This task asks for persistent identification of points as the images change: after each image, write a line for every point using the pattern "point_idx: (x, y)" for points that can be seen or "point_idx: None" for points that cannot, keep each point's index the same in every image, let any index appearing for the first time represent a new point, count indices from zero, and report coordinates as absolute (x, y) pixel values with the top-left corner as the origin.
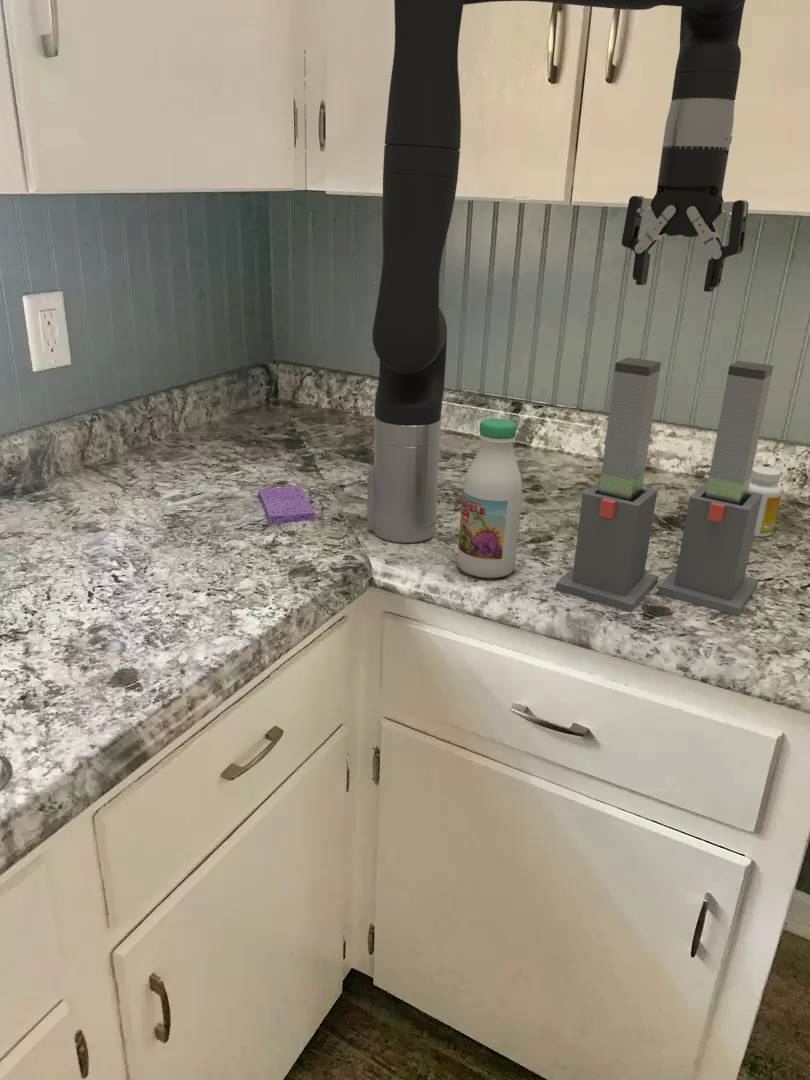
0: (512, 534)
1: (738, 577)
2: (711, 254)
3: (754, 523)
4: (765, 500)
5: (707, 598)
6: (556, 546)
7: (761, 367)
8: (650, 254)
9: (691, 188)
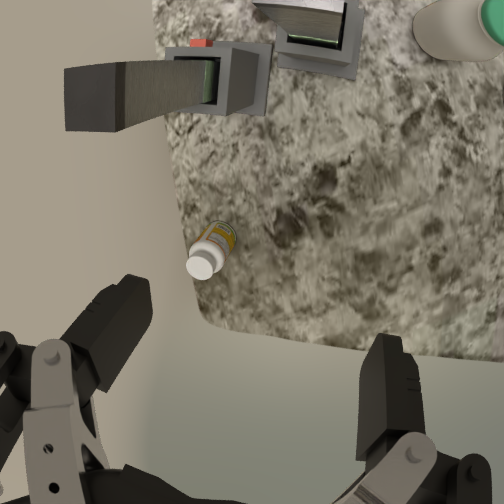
0: (424, 13)
1: None
2: (67, 359)
3: None
4: (201, 238)
5: (226, 44)
6: (392, 110)
7: (73, 96)
8: (356, 457)
9: None
